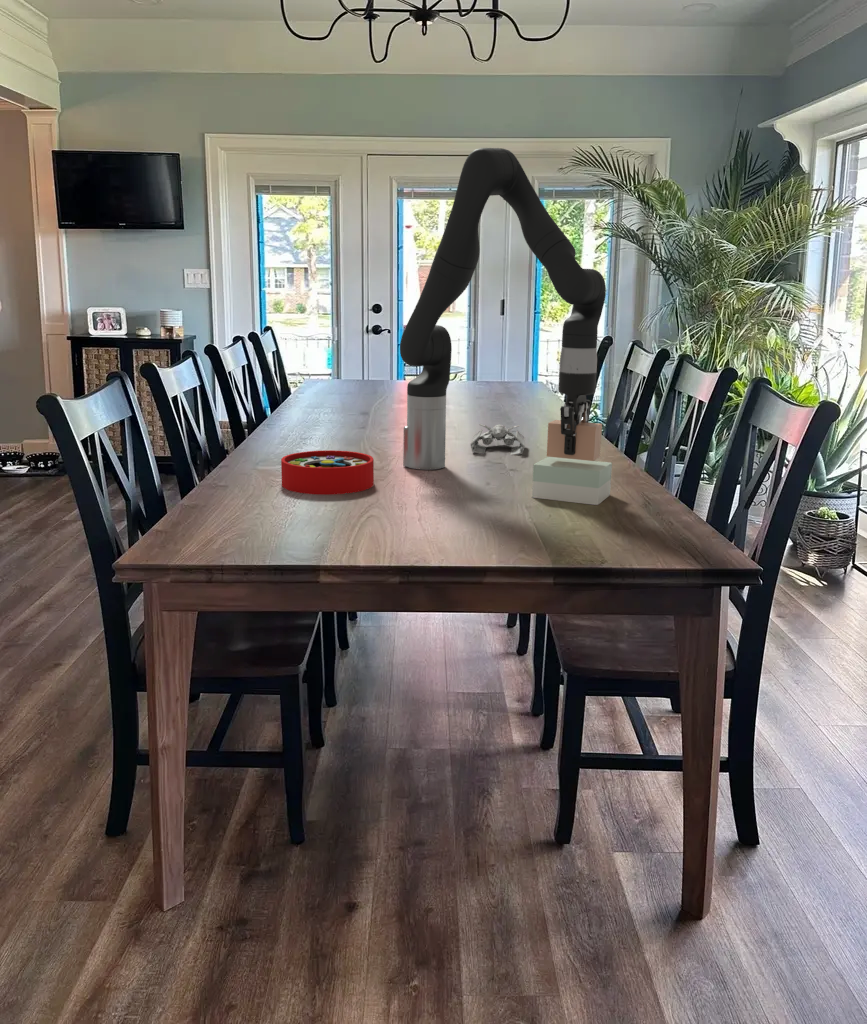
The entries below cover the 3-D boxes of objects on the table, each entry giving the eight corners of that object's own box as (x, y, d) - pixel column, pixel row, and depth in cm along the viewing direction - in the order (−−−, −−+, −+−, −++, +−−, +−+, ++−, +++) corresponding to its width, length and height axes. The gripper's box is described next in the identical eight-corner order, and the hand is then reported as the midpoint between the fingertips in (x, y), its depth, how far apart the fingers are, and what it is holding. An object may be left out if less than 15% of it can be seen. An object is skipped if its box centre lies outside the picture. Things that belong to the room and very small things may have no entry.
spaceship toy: (469, 456, 238) (470, 432, 236) (474, 443, 257) (475, 420, 256) (524, 458, 236) (525, 434, 235) (525, 444, 256) (526, 422, 254)
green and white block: (531, 497, 194) (533, 464, 192) (546, 487, 203) (548, 456, 201) (597, 505, 188) (599, 471, 187) (610, 495, 197) (612, 462, 195)
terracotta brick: (593, 461, 189) (595, 427, 188) (546, 456, 193) (548, 423, 192) (600, 457, 194) (602, 423, 192) (554, 452, 198) (555, 419, 196)
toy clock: (261, 461, 198) (318, 447, 215) (262, 488, 200) (318, 471, 217) (338, 472, 189) (391, 456, 206) (338, 500, 190) (391, 482, 207)
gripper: (586, 374, 181) (581, 459, 185) (605, 368, 194) (600, 448, 198) (549, 372, 184) (545, 456, 189) (570, 366, 197) (566, 445, 201)
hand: (573, 451), depth 193 cm, fingers closed on terracotta brick, 5 cm apart
